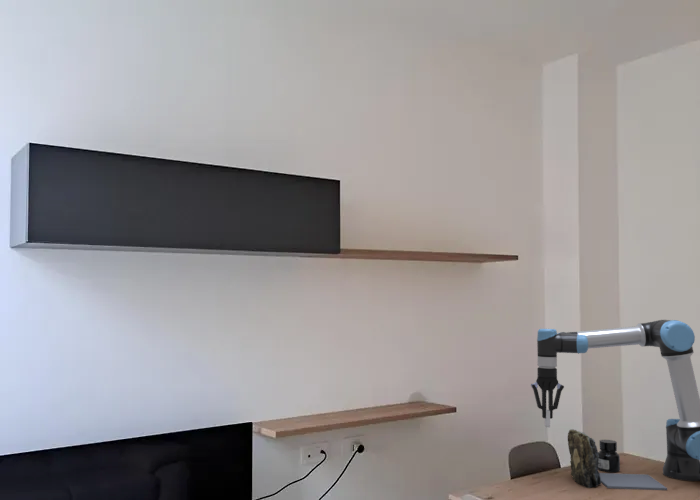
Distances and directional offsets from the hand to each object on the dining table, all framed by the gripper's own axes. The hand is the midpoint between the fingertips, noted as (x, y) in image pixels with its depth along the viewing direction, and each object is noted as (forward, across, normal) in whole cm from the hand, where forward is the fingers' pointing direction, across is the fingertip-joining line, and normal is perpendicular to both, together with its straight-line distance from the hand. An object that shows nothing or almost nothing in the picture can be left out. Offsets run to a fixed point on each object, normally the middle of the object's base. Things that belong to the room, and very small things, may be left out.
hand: (547, 426), depth 255 cm
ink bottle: (+21, -30, -19) cm, 41 cm away
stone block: (+21, -14, 0) cm, 25 cm away
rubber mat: (+21, -32, -1) cm, 38 cm away
